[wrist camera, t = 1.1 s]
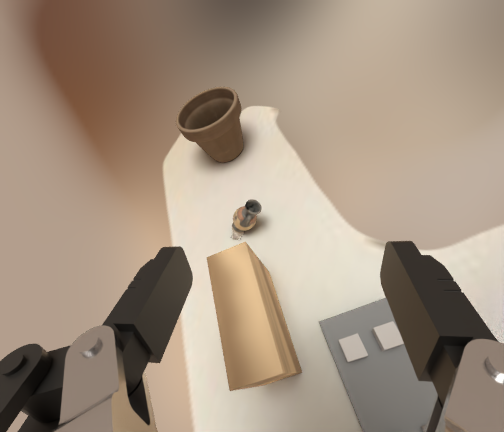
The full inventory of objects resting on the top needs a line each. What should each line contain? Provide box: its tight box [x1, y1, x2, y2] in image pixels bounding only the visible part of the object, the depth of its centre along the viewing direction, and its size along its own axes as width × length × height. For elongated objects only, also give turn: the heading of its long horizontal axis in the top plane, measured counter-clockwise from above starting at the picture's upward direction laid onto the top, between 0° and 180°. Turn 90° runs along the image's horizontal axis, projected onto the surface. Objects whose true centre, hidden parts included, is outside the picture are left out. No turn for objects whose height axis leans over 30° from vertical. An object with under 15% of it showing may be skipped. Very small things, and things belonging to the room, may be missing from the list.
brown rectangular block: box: [207, 242, 302, 391], centre depth 27 cm, size 4×12×10 cm, turn 15°
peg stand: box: [319, 298, 437, 432], centre depth 23 cm, size 8×15×3 cm, turn 15°
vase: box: [231, 200, 261, 240], centre depth 36 cm, size 5×5×6 cm
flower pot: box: [176, 87, 243, 162], centre depth 46 cm, size 12×11×10 cm
